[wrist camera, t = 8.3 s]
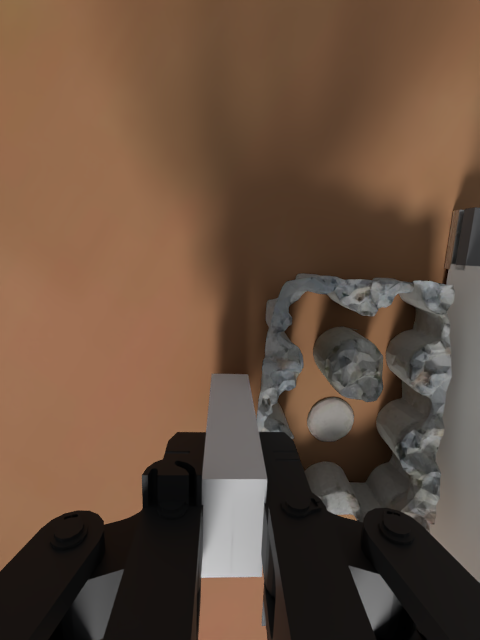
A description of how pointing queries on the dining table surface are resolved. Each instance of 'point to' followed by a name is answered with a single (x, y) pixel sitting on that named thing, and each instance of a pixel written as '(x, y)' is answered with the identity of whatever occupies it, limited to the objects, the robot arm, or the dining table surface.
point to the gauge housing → (454, 238)
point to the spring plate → (462, 409)
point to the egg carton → (368, 391)
